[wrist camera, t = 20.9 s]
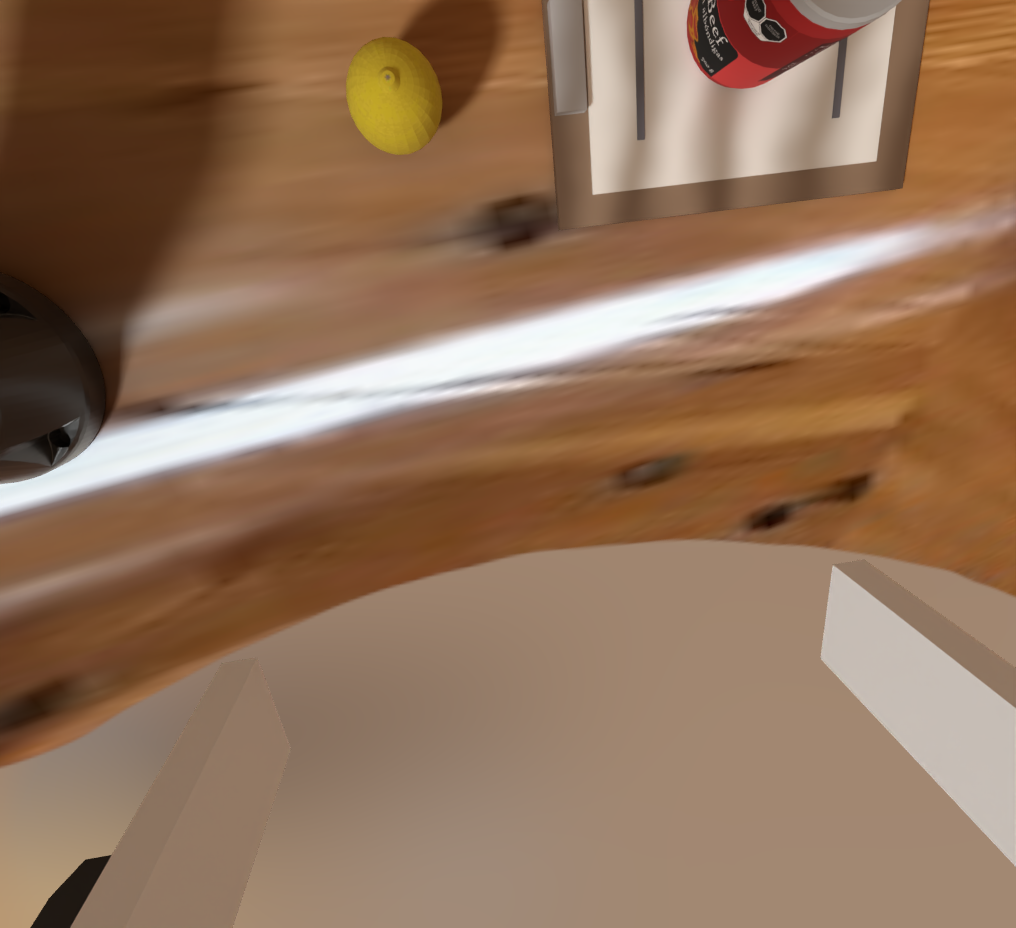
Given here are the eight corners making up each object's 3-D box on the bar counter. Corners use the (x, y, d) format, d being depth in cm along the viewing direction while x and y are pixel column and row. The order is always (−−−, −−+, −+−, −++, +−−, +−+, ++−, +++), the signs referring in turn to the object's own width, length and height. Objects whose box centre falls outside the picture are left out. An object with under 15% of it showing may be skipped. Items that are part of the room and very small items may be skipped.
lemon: (437, 65, 34) (434, 9, 27) (446, 162, 36) (446, 136, 29) (351, 68, 34) (323, 13, 26) (365, 166, 36) (343, 141, 28)
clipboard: (558, 230, 38) (562, 229, 37) (531, -138, 31) (535, -157, 30) (896, 189, 40) (912, 186, 38) (946, -172, 32) (969, -192, 31)
